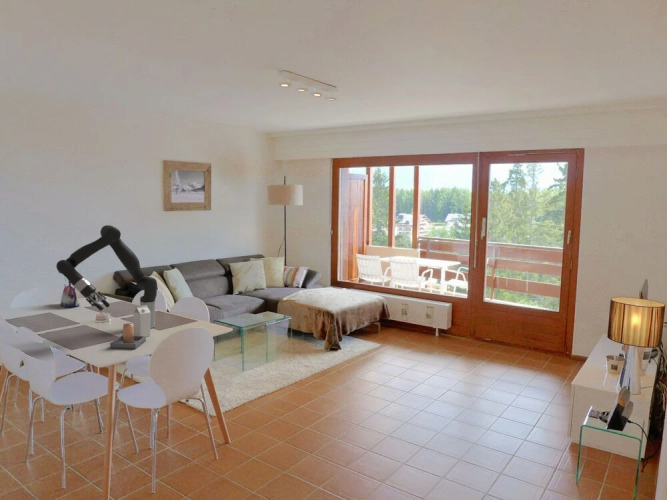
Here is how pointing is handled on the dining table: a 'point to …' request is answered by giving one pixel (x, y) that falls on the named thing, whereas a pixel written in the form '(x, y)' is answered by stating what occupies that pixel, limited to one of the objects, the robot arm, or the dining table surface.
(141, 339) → the tray
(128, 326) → the tan cylinder
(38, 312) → the dining table surface
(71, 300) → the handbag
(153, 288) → the robot arm
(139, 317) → the milk carton
